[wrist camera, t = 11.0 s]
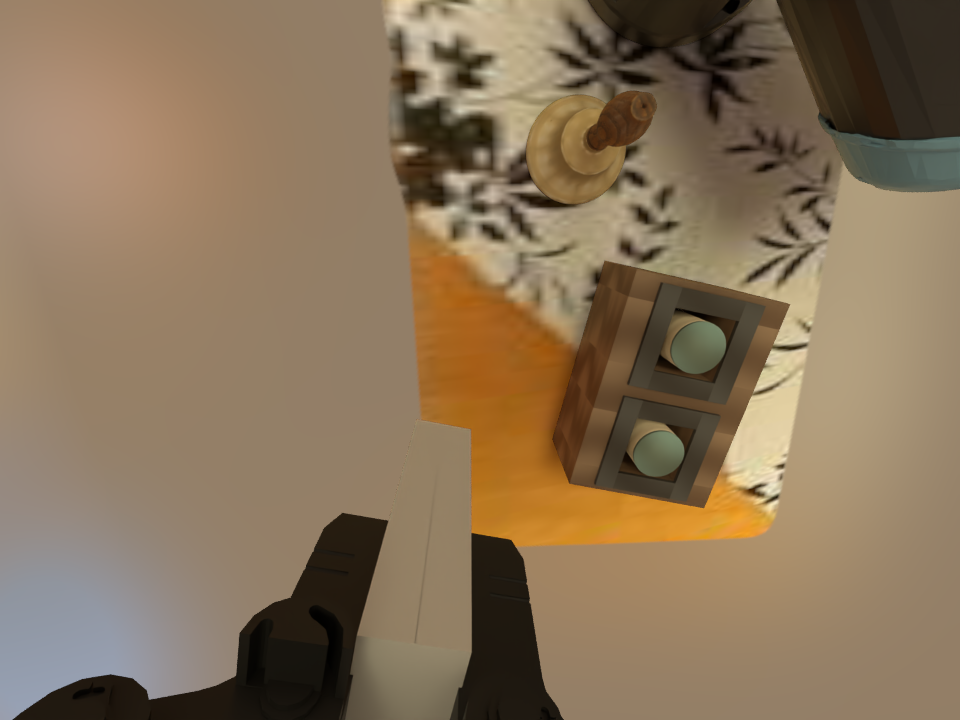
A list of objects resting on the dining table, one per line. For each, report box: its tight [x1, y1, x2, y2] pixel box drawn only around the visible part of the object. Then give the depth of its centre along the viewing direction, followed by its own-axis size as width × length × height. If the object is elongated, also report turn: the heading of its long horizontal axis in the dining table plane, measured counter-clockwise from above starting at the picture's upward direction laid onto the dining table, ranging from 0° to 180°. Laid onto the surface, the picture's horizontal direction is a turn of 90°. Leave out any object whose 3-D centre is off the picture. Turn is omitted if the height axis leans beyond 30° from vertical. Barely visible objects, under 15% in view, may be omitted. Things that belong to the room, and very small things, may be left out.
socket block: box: [553, 261, 790, 508], centre depth 39 cm, size 18×12×8 cm, turn 168°
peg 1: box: [626, 418, 684, 477], centre depth 39 cm, size 4×4×8 cm
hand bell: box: [526, 91, 657, 204], centre depth 29 cm, size 8×8×16 cm
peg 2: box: [659, 308, 726, 374], centre depth 37 cm, size 4×4×8 cm
